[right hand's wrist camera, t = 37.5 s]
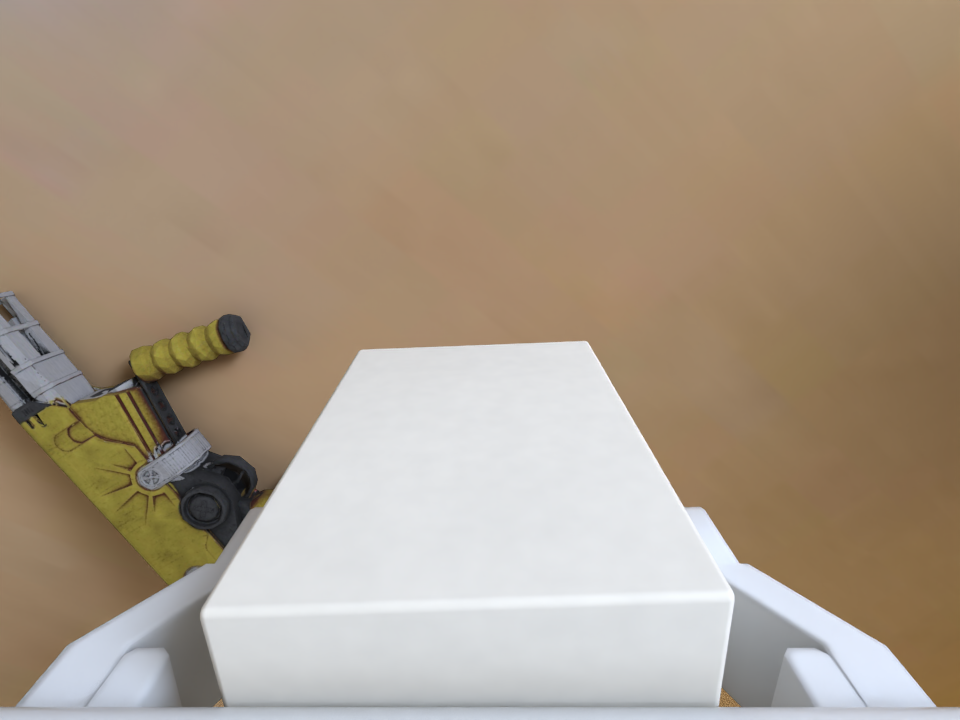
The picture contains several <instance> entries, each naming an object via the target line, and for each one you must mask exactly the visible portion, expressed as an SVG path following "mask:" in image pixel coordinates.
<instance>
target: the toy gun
mask: <svg viewBox="0 0 960 720" xmlns="http://www.w3.org/2000/svg"><path fill="white" fill-rule="evenodd" d="M3 297H5V298H3ZM0 298H2V299H0V305H1V304H2V305H3V306H4V307H5V308H6V309H7V310H8V311H9V313H10V314H11V315H12V316H13V317H14V318H12V319H11V320H10V321H9V322H7V321H6V320H5V319H4V318H3V317H2V316H1V315H0V397H1V398H2V399H3V400H4V402H5V403H6V404H7V405H8V407H9V408H10V409H11V410H12V412H13V413H12V416H13V417H14V418H15V419H16V420H17V422H18V423H19V424H20V425H21V426H22V427H23V429H24V430H25V431H26V432H27V433H28V434H29V435H30V436H31V437H32V438H33V439H34V440H35V441H36V443H37V444H38V445H39V446H40V447H41V448H42V449H43V450H44V451H45V452H46V453H47V454H48V456H49V457H50V458H51V459H52V460H53V461H54V462H55V463H56V464H57V465H58V466H59V467H60V469H61V470H62V471H63V472H64V473H65V474H66V475H67V476H68V477H69V478H70V479H71V480H72V482H73V483H74V484H75V485H76V486H77V487H78V488H79V489H80V490H81V491H82V492H83V493H84V495H85V496H86V497H87V498H88V499H89V500H90V501H91V502H92V503H93V504H94V505H95V506H96V508H97V509H98V510H99V511H100V512H101V513H102V514H103V515H104V516H105V517H106V518H107V519H108V521H109V522H110V523H111V524H112V525H113V526H114V527H115V528H116V529H117V530H118V531H119V532H120V533H121V535H122V536H123V537H124V538H125V539H126V540H127V541H128V542H129V543H130V544H131V545H132V546H133V548H134V549H135V550H136V551H137V552H138V553H139V554H140V555H141V556H142V557H143V558H144V559H145V561H146V562H147V563H148V564H149V565H150V566H151V567H152V568H153V569H154V570H155V571H156V572H157V574H158V575H159V576H160V577H161V578H162V579H163V580H164V581H165V582H166V583H167V584H168V585H171V584H173V583H174V582H176V581H178V580H180V579H181V578H183V577H185V576H186V575H188V574H190V573H191V572H193V571H195V570H197V569H198V568H200V567H202V566H203V565H205V564H215V562H216V561H217V559H218V558H219V556H220V555H221V553H222V552H223V550H224V548H225V547H226V545H227V544H228V542H229V541H230V539H231V538H232V536H233V535H234V533H235V532H236V530H237V529H238V527H239V526H240V524H241V523H242V521H243V520H244V518H245V517H246V515H247V514H248V512H249V511H250V510H251V509H253V508H255V507H264V505H265V503H266V502H267V500H268V499H269V497H270V495H271V494H272V492H273V490H274V489H272V490H263V491H261V492H259V491H258V490H256V489H255V488H256V484H257V480H258V479H257V475H256V471H255V468H254V467H252V466H251V465H250V464H249V463H247V462H246V461H245V460H244V459H243V458H241V457H240V456H232V455H223V456H221V455H218V454H215V453H212V452H210V451H208V450H209V449H210V448H211V445H210V444H209V442H208V441H207V440H206V439H205V437H204V436H203V435H202V434H201V433H200V431H199V430H198V429H194V430H192V431H190V432H189V433H187V434H186V433H185V431H184V429H183V427H182V426H181V424H180V422H179V420H178V418H177V417H176V415H175V413H174V411H173V409H172V408H171V406H170V404H169V402H168V400H167V399H166V397H165V395H164V393H163V391H162V389H161V388H160V386H159V384H158V382H157V380H159V379H160V378H162V377H163V376H164V375H166V374H175V373H177V372H179V371H181V370H183V368H184V367H189V368H193V367H195V366H197V365H199V364H200V363H201V361H212V360H214V359H216V358H217V357H218V356H219V354H226V355H229V354H233V353H236V352H240V351H244V350H245V349H246V348H247V346H248V345H249V340H250V332H249V330H248V329H247V327H246V325H245V324H244V322H243V320H242V319H241V317H240V316H236V315H231V314H227V315H223V316H222V317H221V318H220V319H219V320H215V321H213V322H212V323H210V324H209V325H208V326H207V327H205V326H199V327H194V328H193V329H192V330H191V331H190V332H189V333H185V332H180V333H178V334H176V335H175V336H174V337H173V338H172V339H171V340H170V339H163V340H160V341H158V342H156V343H155V344H153V346H142V347H139V348H137V349H134V350H132V351H131V354H130V361H129V365H130V366H131V368H132V370H133V372H134V373H135V375H136V377H134V378H132V379H130V380H126V381H124V382H122V383H121V384H119V385H116V386H110V387H104V388H99V387H94V386H91V384H90V383H89V382H88V381H87V380H86V379H85V377H84V376H83V375H82V374H83V373H82V372H81V370H79V371H78V370H77V369H76V367H75V366H74V365H73V364H72V363H71V361H70V360H69V359H68V358H67V357H66V356H65V354H64V353H65V352H64V351H63V350H62V349H59V347H58V346H57V345H56V344H55V343H54V342H53V341H52V340H51V339H50V337H49V336H48V335H47V334H46V333H45V332H44V331H43V330H42V329H41V328H40V324H39V322H38V321H37V320H35V319H34V318H33V317H32V316H31V315H30V314H29V312H28V311H27V310H26V309H25V308H24V307H23V306H22V304H21V303H20V302H19V301H18V300H17V299H16V297H15V294H14V293H13V292H12V291H9V292H3V293H0Z"/></svg>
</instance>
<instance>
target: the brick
mask: <svg viewBox="0 0 960 720" xmlns="http://www.w3.org/2000/svg"><path fill="white" fill-rule="evenodd" d="M734 601H735V599H734V593H733V591H732V589H731V587H730V585H729V584H728V582H727V580H726V578H725V577H724V575H723V573H722V572H721V570H720V568H719V566H718V565H717V563H716V561H715V560H714V558H713V556H712V554H711V553H710V551H709V549H708V548H707V546H706V544H705V542H704V541H703V539H702V537H701V536H700V534H699V532H698V530H697V529H696V527H695V525H694V524H693V522H692V520H691V518H690V517H689V515H688V513H687V512H686V510H685V508H684V506H683V505H682V503H681V501H680V500H679V498H678V496H677V494H676V493H675V491H674V489H673V488H672V486H671V484H670V482H669V481H668V479H667V477H666V476H665V474H664V472H663V470H662V469H661V467H660V465H659V464H658V462H657V460H656V458H655V457H654V455H653V453H652V452H651V450H650V448H649V446H648V445H647V443H646V441H645V440H644V438H643V436H642V434H641V433H640V431H639V429H638V428H637V426H636V424H635V422H634V421H633V419H632V417H631V416H630V414H629V412H628V410H627V409H626V407H625V405H624V404H623V402H622V400H621V398H620V397H619V395H618V393H617V392H616V390H615V388H614V386H613V385H612V383H611V381H610V380H609V378H608V376H607V374H606V373H605V371H604V369H603V368H602V366H601V364H600V362H599V361H598V359H597V357H596V356H595V354H594V352H593V350H592V349H591V347H590V345H589V344H588V342H586V341H578V342H552V343H526V344H500V345H474V346H448V347H423V348H397V349H371V350H360V351H359V352H358V353H357V355H356V357H355V358H354V360H353V361H352V363H351V365H350V366H349V368H348V370H347V371H346V373H345V375H344V376H343V378H342V379H341V381H340V383H339V384H338V386H337V388H336V389H335V391H334V392H333V394H332V396H331V397H330V399H329V401H328V402H327V404H326V406H325V407H324V409H323V410H322V412H321V414H320V415H319V417H318V419H317V420H316V422H315V423H314V425H313V427H312V428H311V430H310V432H309V433H308V435H307V437H306V438H305V440H304V441H303V443H302V445H301V446H300V448H299V450H298V451H297V453H296V455H295V456H294V458H293V459H292V461H291V463H290V464H289V466H288V468H287V469H286V471H285V472H284V474H283V476H282V477H281V479H280V481H279V482H278V484H277V486H276V487H275V489H274V490H273V492H272V494H271V495H270V497H269V499H268V500H267V502H266V503H265V505H264V507H263V508H262V510H261V512H260V513H259V515H258V517H257V518H256V520H255V521H254V523H253V525H252V526H251V528H250V530H249V531H248V533H247V534H246V536H245V538H244V539H243V541H242V543H241V544H240V546H239V548H238V549H237V551H236V552H235V554H234V556H233V557H232V559H231V561H230V562H229V564H228V565H227V567H226V569H225V570H224V572H223V574H222V575H221V577H220V579H219V580H218V582H217V583H216V585H215V587H214V588H213V590H212V592H211V593H210V595H209V597H208V598H207V600H206V601H205V603H204V605H203V606H202V608H201V612H200V621H201V625H202V628H203V632H204V635H205V639H206V643H207V646H208V650H209V653H210V657H211V661H212V664H213V668H214V671H215V675H216V679H217V682H218V686H219V689H220V693H221V697H222V700H223V704H224V707H718V706H719V700H720V693H721V687H722V680H723V674H724V667H725V660H726V654H727V647H728V641H729V634H730V627H731V621H732V614H733V608H734Z"/></svg>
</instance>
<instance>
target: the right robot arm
mask: <svg viewBox="0 0 960 720" xmlns="http://www.w3.org/2000/svg"><path fill="white" fill-rule="evenodd" d="M262 508H263V507H255V508H253V509H251V510H250V511H249V512H248V514H247V515H246V517H245V518H244V520H243V521H242V523H241V524H240V526H239V527H238V529H237V530H236V532H235V533H234V535H233V536H232V538H231V539H230V541H229V542H228V544H227V545H226V547H225V548H224V550H223V552H222V553H221V555H220V556H219V558H218V559H217V561H216V562H215V564H205V565H203V566H202V567H200V568H198V569H197V570H195V571H193V572H191V573H190V574H188V575H186V576H185V577H183V578H181V579H180V580H178V581H176V582H174V583H173V584H171V585H169V586H168V587H166V588H164V589H162V590H161V591H159V592H157V593H156V594H154V595H152V596H151V597H149V598H147V599H145V600H144V601H142V602H140V603H139V604H137V605H135V606H133V607H132V608H130V609H128V610H127V611H125V612H123V613H122V614H120V615H118V616H116V617H115V618H113V619H111V620H110V621H108V622H106V623H104V624H103V625H101V626H99V627H98V628H96V629H94V630H93V631H91V632H89V633H87V634H86V635H84V636H82V637H81V638H79V639H77V640H75V641H74V642H72V643H70V644H69V645H67V646H66V647H65V649H64V650H63V651H62V652H61V653H60V654H59V656H58V657H57V658H56V659H55V660H54V662H53V663H52V664H51V665H50V666H49V667H48V669H47V670H46V671H45V672H44V673H43V675H42V676H41V677H40V678H39V679H38V680H37V682H36V683H35V684H34V685H33V686H32V687H31V689H30V690H29V691H28V692H27V693H26V695H25V696H24V697H23V698H22V699H21V700H20V702H19V703H18V704H17V705H16V706H15V707H0V720H960V707H936V705H935V704H934V703H933V702H932V700H931V699H930V698H929V697H928V696H927V694H926V693H925V692H924V691H923V690H922V688H921V687H920V686H919V685H918V684H917V682H916V681H915V680H914V679H913V678H912V676H911V675H910V674H909V673H908V671H907V670H906V669H905V668H904V667H903V665H902V664H901V663H900V662H899V661H898V659H897V658H896V657H895V656H894V655H893V653H892V652H891V651H890V650H889V649H888V647H887V646H885V645H884V644H882V643H880V642H879V641H877V640H875V639H874V638H872V637H870V636H869V635H867V634H865V633H863V632H862V631H860V630H858V629H857V628H855V627H853V626H852V625H850V624H848V623H847V622H845V621H843V620H842V619H840V618H838V617H837V616H835V615H833V614H832V613H830V612H828V611H826V610H825V609H823V608H821V607H820V606H818V605H816V604H815V603H813V602H811V601H810V600H808V599H806V598H805V597H803V596H801V595H800V594H798V593H796V592H794V591H793V590H791V589H789V588H788V587H786V586H784V585H783V584H781V583H779V582H778V581H776V580H774V579H773V578H771V577H769V576H768V575H766V574H764V573H762V572H761V571H759V570H757V569H756V568H754V567H752V566H751V565H749V564H739V562H738V560H737V559H736V557H735V556H734V554H733V553H732V551H731V550H730V548H729V547H728V545H727V544H726V542H725V540H724V539H723V537H722V536H721V534H720V533H719V531H718V530H717V528H716V527H715V525H714V524H713V522H712V520H711V519H710V517H709V516H708V514H707V513H706V511H705V510H704V509H703V508H701V507H684V508H685V510H686V512H687V513H688V515H689V517H690V518H691V520H692V522H693V524H694V525H695V527H696V529H697V530H698V532H699V534H700V536H701V537H702V539H703V541H704V542H705V544H706V546H707V548H708V549H709V551H710V553H711V554H712V556H713V558H714V560H715V561H716V563H717V565H718V566H719V568H720V570H721V572H722V573H723V575H724V577H725V578H726V580H727V582H728V584H729V585H730V587H731V589H732V591H733V593H734V599H735V601H734V608H733V614H732V621H731V627H730V634H729V641H728V647H727V654H726V660H725V667H724V674H723V680H722V688H723V689H724V690H725V691H726V692H727V693H728V694H729V695H730V696H731V697H732V698H733V699H734V700H735V701H736V702H737V703H738V704H739V705H740V706H741V707H213V706H214V705H215V704H216V703H217V702H218V701H219V700H220V699H221V698H222V697H221V693H220V689H219V686H218V682H217V679H216V675H215V671H214V668H213V664H212V661H211V657H210V653H209V650H208V646H207V643H206V639H205V635H204V632H203V628H202V625H201V621H200V612H201V608H202V606H203V605H204V603H205V601H206V600H207V598H208V597H209V595H210V593H211V592H212V590H213V588H214V587H215V585H216V583H217V582H218V580H219V579H220V577H221V575H222V574H223V572H224V570H225V569H226V567H227V565H228V564H229V562H230V561H231V559H232V557H233V556H234V554H235V552H236V551H237V549H238V548H239V546H240V544H241V543H242V541H243V539H244V538H245V536H246V534H247V533H248V531H249V530H250V528H251V526H252V525H253V523H254V521H255V520H256V518H257V517H258V515H259V513H260V512H261V510H262Z"/></svg>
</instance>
